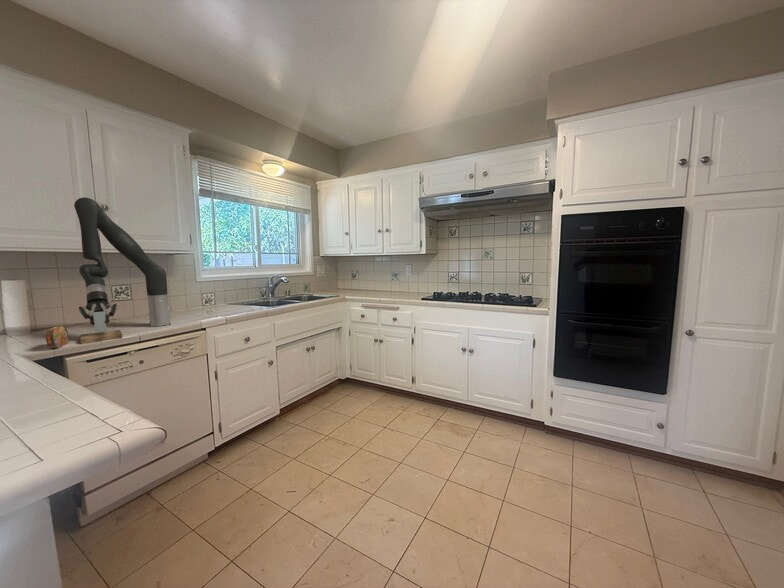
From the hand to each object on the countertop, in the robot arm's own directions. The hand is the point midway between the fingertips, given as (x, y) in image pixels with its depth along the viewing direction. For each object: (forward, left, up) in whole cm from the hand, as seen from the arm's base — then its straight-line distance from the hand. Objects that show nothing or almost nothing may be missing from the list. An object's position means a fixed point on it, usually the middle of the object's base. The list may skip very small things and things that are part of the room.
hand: (100, 323), depth 149 cm
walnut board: (0, -2, -8) cm, 8 cm away
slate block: (0, -2, -4) cm, 4 cm away
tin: (+14, +3, -8) cm, 16 cm away
